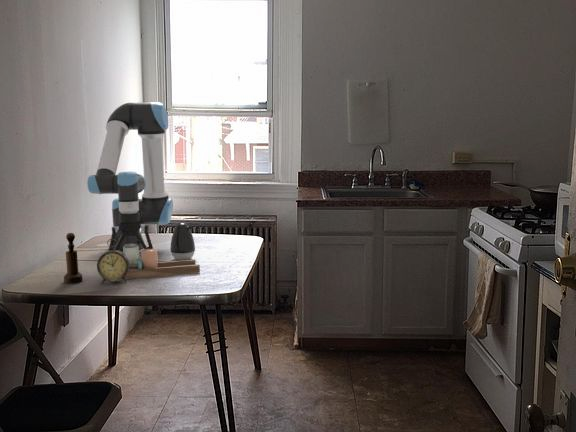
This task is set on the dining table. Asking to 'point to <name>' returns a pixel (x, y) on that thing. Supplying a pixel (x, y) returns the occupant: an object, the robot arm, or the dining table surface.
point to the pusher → (139, 264)
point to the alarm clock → (113, 265)
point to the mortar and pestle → (72, 262)
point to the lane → (164, 269)
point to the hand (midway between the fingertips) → (131, 268)
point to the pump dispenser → (182, 242)
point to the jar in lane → (149, 258)
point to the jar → (131, 252)
